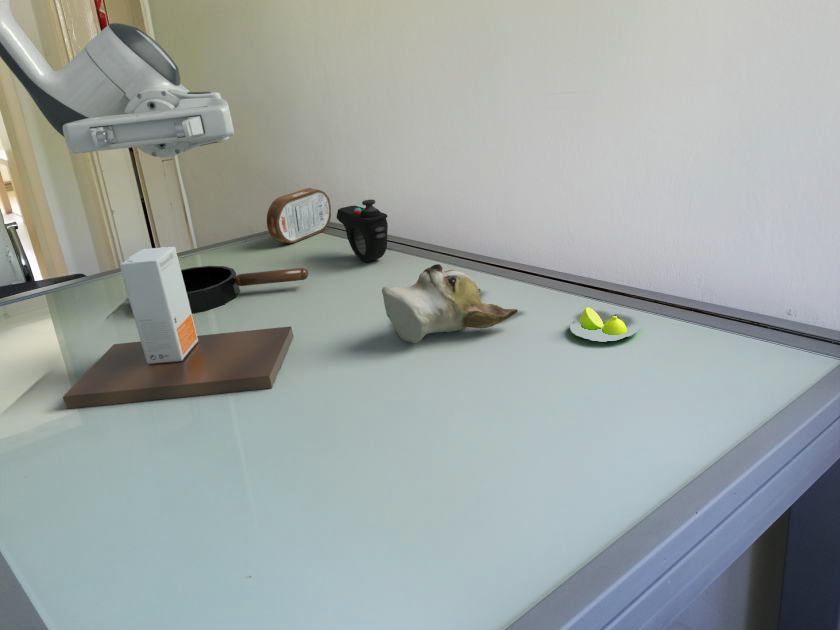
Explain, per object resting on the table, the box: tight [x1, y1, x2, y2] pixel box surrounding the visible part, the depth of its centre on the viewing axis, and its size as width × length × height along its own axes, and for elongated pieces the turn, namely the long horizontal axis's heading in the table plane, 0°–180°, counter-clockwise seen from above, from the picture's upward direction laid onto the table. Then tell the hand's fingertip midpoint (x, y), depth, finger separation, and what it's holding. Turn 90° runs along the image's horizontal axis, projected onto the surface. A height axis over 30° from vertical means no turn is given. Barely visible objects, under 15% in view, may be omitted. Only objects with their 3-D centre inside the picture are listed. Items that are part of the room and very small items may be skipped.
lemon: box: [579, 307, 627, 335], centre depth 83 cm, size 8×8×3 cm
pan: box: [181, 265, 309, 315], centre depth 107 cm, size 24×13×3 cm, turn 92°
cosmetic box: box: [119, 246, 198, 364], centre depth 83 cm, size 6×4×12 cm
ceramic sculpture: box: [381, 263, 519, 344], centre depth 86 cm, size 11×9×15 cm
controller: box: [336, 199, 389, 262], centre depth 117 cm, size 4×12×10 cm, turn 34°
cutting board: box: [62, 325, 294, 410], centre depth 83 cm, size 22×14×2 cm, turn 93°
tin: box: [266, 187, 332, 244], centre depth 133 cm, size 15×3×8 cm, turn 149°
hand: (140, 135), depth 86 cm, fingers open, 8 cm apart
